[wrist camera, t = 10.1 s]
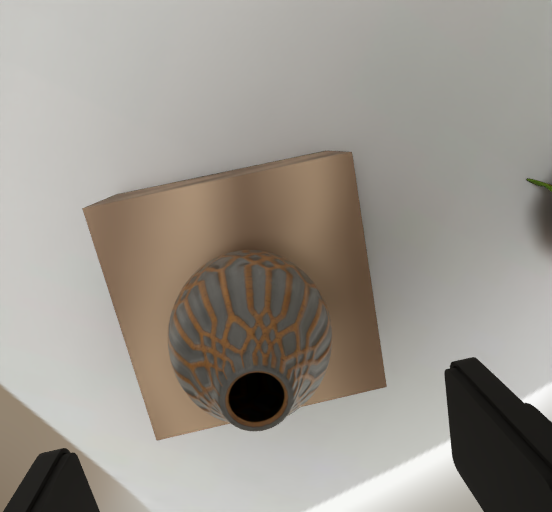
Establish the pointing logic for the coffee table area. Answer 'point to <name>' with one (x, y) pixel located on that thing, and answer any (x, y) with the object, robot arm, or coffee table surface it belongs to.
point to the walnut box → (229, 238)
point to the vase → (250, 338)
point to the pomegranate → (541, 184)
